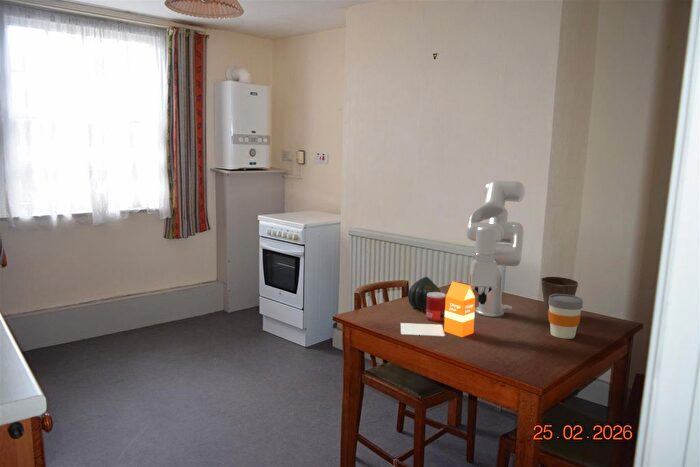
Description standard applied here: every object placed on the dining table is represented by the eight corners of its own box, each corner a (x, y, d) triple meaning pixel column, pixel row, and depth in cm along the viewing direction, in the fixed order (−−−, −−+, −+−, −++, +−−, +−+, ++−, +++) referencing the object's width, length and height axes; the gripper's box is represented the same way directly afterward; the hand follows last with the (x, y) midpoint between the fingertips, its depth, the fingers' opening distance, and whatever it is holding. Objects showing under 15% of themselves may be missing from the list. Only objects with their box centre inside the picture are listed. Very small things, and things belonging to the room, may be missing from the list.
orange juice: (461, 337, 199) (464, 287, 196) (443, 331, 206) (445, 282, 203) (473, 332, 205) (476, 284, 201) (455, 327, 211) (458, 279, 208)
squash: (417, 303, 224) (435, 276, 227) (397, 296, 236) (414, 270, 240) (435, 321, 230) (453, 293, 234) (415, 313, 243) (432, 287, 246)
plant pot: (579, 315, 228) (582, 280, 226) (568, 323, 217) (572, 287, 214) (545, 308, 238) (548, 275, 235) (533, 316, 226) (536, 281, 224)
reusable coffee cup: (538, 331, 207) (541, 295, 205) (562, 327, 212) (565, 292, 210) (562, 342, 196) (566, 304, 193) (587, 337, 201) (590, 300, 198)
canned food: (444, 322, 216) (445, 297, 214) (425, 321, 218) (426, 296, 216) (445, 317, 224) (446, 292, 222) (426, 315, 225) (427, 291, 223)
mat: (441, 325, 213) (441, 324, 213) (444, 336, 200) (445, 335, 200) (400, 323, 214) (400, 323, 214) (401, 334, 201) (401, 333, 201)
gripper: (502, 256, 203) (499, 301, 206) (463, 255, 204) (461, 300, 207) (506, 260, 195) (503, 307, 198) (466, 259, 197) (464, 305, 199)
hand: (482, 303), depth 203 cm, fingers closed
